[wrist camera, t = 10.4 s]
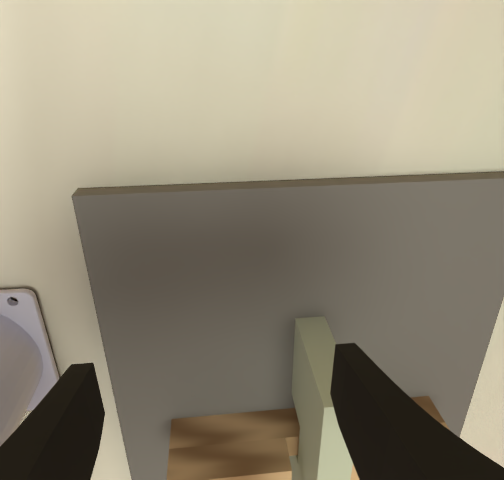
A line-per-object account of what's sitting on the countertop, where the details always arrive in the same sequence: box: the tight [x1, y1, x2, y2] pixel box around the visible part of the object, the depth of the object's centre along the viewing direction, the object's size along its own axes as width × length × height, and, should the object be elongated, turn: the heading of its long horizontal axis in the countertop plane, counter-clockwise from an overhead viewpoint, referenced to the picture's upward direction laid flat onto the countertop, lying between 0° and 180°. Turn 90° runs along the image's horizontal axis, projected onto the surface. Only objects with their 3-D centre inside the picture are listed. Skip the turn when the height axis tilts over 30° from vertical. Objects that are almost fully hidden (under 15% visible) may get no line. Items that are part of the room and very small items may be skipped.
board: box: [72, 172, 504, 480], centre depth 25 cm, size 22×23×1 cm
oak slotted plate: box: [167, 396, 450, 480], centre depth 24 cm, size 16×2×4 cm, turn 90°
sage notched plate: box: [289, 316, 353, 480], centre depth 23 cm, size 14×2×6 cm, turn 0°
